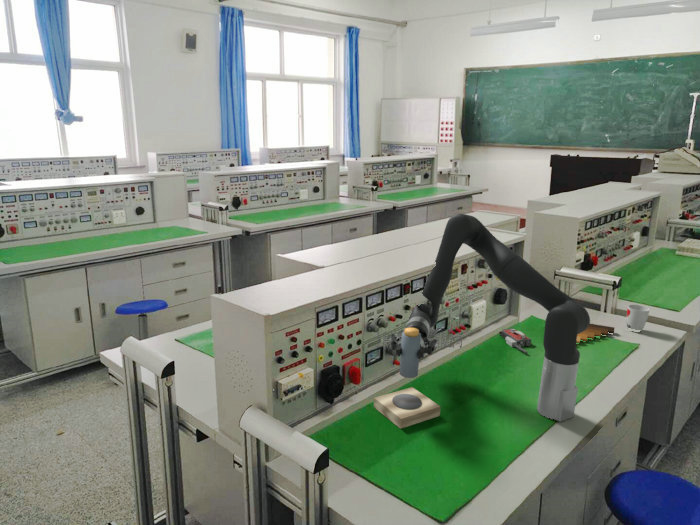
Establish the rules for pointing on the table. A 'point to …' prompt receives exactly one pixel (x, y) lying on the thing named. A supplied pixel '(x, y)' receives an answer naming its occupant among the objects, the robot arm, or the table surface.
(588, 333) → the pan flute
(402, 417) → the display riser
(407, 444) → the table surface
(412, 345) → the can
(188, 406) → the table surface
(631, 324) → the cup
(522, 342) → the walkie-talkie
